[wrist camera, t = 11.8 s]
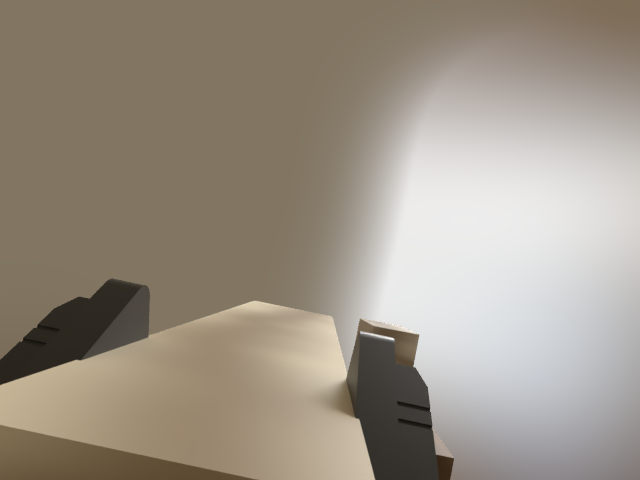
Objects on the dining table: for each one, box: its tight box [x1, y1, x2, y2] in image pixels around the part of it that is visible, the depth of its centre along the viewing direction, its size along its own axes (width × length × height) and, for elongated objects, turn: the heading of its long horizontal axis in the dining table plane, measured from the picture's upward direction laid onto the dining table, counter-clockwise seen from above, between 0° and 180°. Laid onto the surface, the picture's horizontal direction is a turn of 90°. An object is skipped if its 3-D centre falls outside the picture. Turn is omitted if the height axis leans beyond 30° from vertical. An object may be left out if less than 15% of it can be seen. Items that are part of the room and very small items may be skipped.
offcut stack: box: [355, 319, 419, 367], centre depth 41 cm, size 4×6×6 cm
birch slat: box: [0, 301, 375, 480], centre depth 17 cm, size 4×24×2 cm, turn 0°
